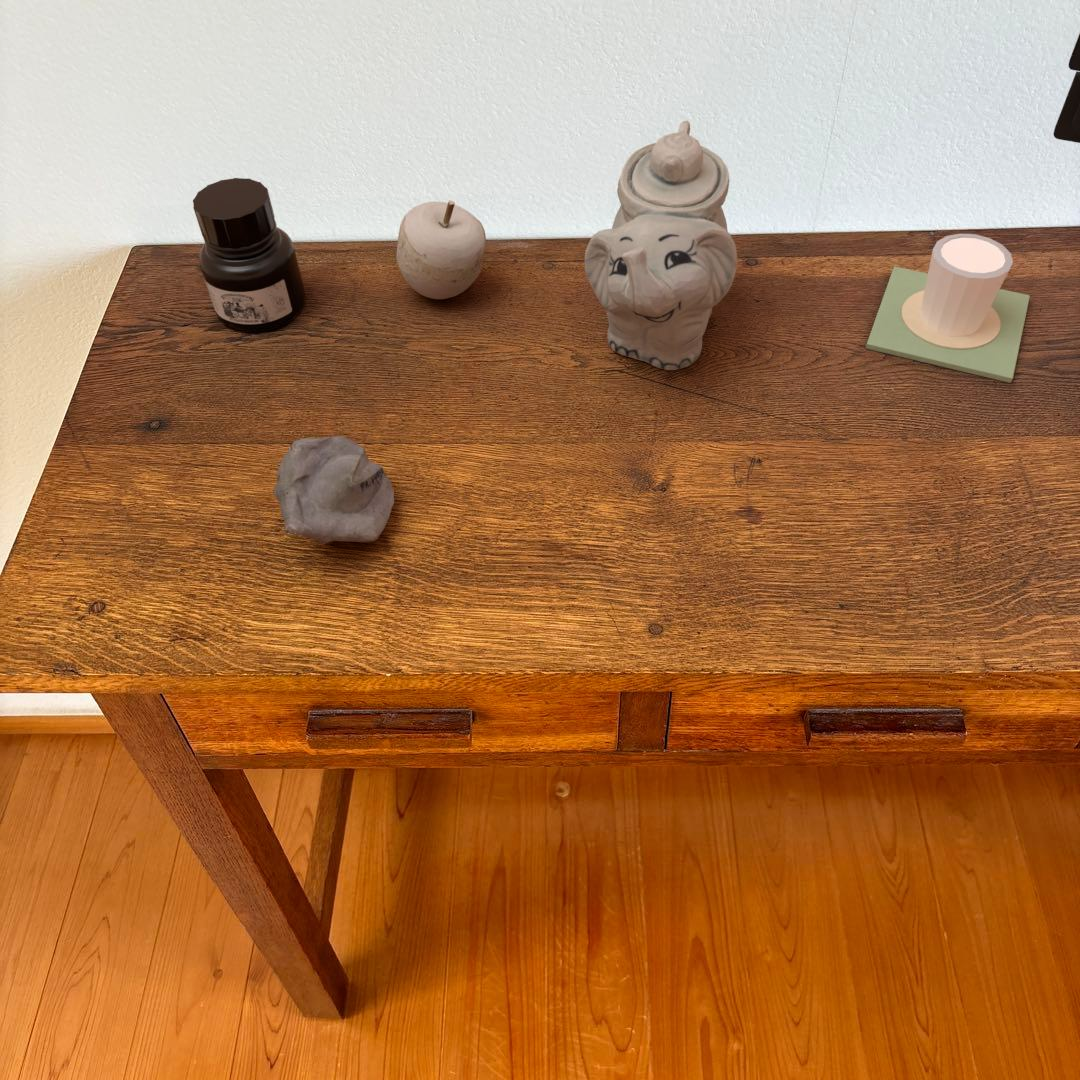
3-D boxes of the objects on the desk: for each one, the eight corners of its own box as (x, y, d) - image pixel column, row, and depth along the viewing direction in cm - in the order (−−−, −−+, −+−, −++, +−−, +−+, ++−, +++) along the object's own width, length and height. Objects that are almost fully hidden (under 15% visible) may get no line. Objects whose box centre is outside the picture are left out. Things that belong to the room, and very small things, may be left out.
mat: (1028, 300, 98) (1030, 293, 98) (1010, 383, 91) (1013, 376, 90) (892, 270, 102) (894, 264, 101) (865, 348, 94) (867, 342, 94)
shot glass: (990, 302, 97) (1015, 239, 92) (986, 347, 93) (1011, 283, 88) (917, 289, 99) (936, 226, 93) (909, 332, 94) (929, 269, 89)
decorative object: (388, 282, 103) (373, 193, 95) (465, 255, 105) (456, 166, 98) (425, 329, 98) (413, 239, 90) (505, 300, 100) (499, 210, 93)
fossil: (379, 583, 78) (363, 515, 72) (266, 575, 79) (240, 507, 73) (407, 478, 85) (394, 408, 79) (302, 472, 86) (281, 402, 80)
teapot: (637, 419, 89) (650, 233, 75) (537, 333, 97) (531, 149, 83) (773, 345, 95) (809, 159, 81) (668, 269, 103) (684, 87, 89)
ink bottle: (197, 327, 99) (158, 219, 90) (235, 274, 104) (202, 166, 95) (290, 340, 97) (260, 231, 88) (323, 285, 103) (299, 177, 93)
